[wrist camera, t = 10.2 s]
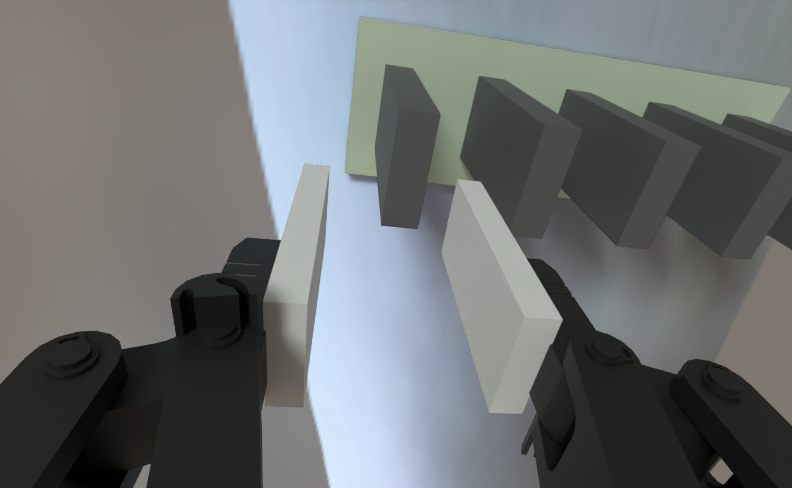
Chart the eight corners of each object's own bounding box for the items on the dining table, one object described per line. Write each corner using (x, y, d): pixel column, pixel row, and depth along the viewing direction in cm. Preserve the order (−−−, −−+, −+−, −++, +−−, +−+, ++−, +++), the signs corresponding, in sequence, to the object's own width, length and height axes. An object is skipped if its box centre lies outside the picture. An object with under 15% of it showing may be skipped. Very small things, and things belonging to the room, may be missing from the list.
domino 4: (649, 101, 27) (783, 157, 18) (672, 104, 27) (815, 162, 19) (616, 176, 29) (720, 256, 21) (637, 179, 30) (750, 259, 21)
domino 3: (566, 88, 26) (666, 141, 18) (591, 92, 26) (701, 146, 18) (540, 166, 29) (616, 245, 20) (562, 169, 29) (647, 249, 20)
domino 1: (385, 64, 25) (399, 108, 16) (413, 68, 25) (440, 114, 16) (374, 148, 27) (381, 225, 19) (399, 151, 27) (417, 229, 19)
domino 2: (479, 75, 25) (545, 124, 17) (505, 79, 26) (582, 129, 17) (459, 156, 28) (508, 235, 19) (483, 159, 28) (542, 238, 20)
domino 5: (727, 113, 28) (890, 173, 19) (749, 116, 28) (920, 176, 19) (688, 185, 30) (818, 266, 22) (709, 188, 30) (845, 268, 22)
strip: (359, 16, 24) (359, 17, 23) (783, 86, 28) (790, 88, 27) (344, 169, 28) (344, 173, 28) (710, 211, 32) (715, 215, 32)
